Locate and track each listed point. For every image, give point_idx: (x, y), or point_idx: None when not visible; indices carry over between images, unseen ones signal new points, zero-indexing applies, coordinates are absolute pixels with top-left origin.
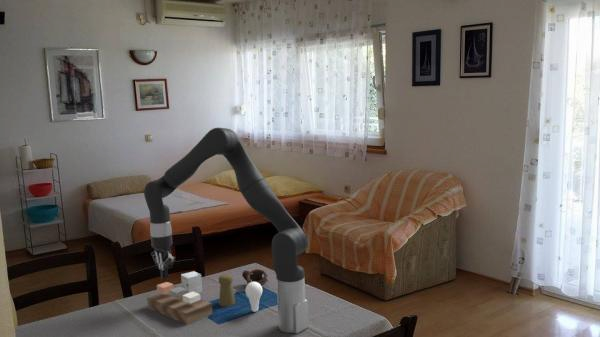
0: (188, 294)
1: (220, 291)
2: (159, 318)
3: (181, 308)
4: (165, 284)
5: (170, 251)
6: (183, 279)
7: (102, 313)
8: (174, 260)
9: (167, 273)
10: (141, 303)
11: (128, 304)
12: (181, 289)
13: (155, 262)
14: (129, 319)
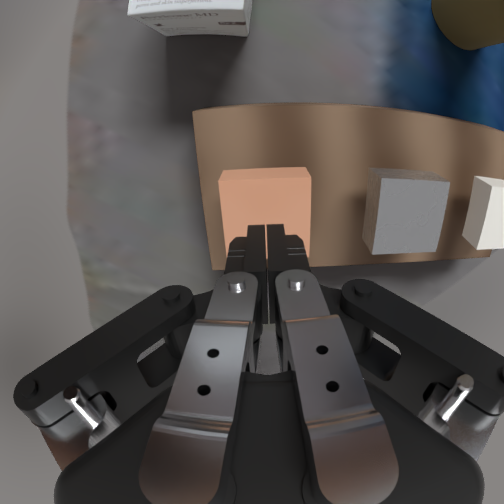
0: (494, 226)
1: (493, 35)
2: (354, 265)
3: (454, 241)
4: (261, 215)
5: (481, 491)
6: (174, 18)
7: (156, 346)
8: (489, 352)
9: (305, 260)
10: (156, 238)
11: (133, 273)
12: (428, 203)
13: (159, 373)
14: (267, 326)
